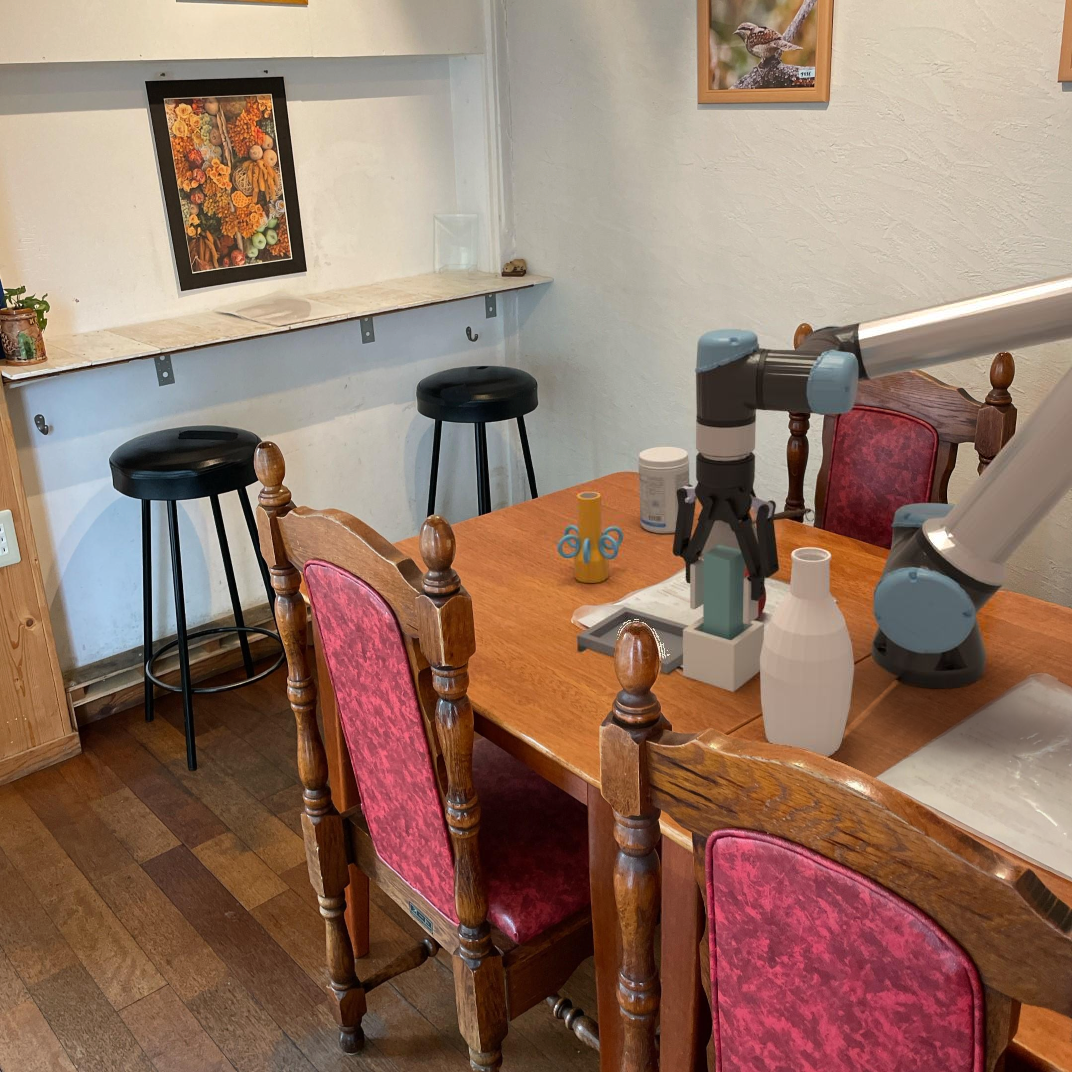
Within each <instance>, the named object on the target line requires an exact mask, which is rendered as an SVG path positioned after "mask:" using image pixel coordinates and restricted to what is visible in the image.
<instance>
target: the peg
mask: <svg viewBox="0 0 1072 1072" xmlns="http://www.w3.org/2000/svg"><path fill="white" fill-rule="evenodd" d="M744 578H745V562H744V559H743V556H742V553H741V550H739V549H735V548H731V547H726V546H722V545H718V546H717V547H715V548H713V549H712V550H710V551H708V552H707V553H705V554H704V567H703V607H702V608H703V609H702V610H703V613H702V615H703V616H702V617H703V632H704V633H708V634H711V635H714V636H718V637H721V638H725V639H728V640H733V639H734V638H735V637H737V636H738V635H740V634H741V633H742V632H744V623H743V592H744Z"/></svg>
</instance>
